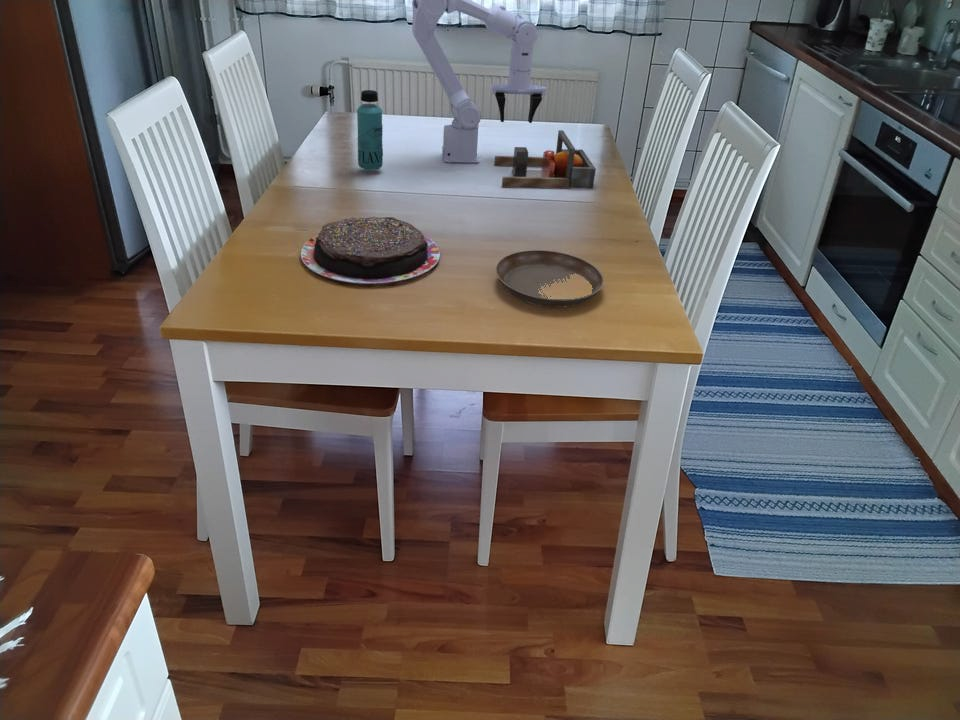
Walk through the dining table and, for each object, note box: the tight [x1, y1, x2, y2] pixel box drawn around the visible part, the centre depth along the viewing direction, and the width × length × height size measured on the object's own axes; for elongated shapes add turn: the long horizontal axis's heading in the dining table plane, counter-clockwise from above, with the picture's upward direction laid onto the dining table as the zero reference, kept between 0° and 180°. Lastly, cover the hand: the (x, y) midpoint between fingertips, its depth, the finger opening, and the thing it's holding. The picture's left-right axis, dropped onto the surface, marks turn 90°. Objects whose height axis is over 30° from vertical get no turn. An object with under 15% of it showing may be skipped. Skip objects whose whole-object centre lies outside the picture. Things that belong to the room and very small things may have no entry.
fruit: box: [553, 151, 583, 178], centre depth 196 cm, size 8×8×8 cm
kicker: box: [511, 146, 556, 178], centre depth 195 cm, size 10×10×7 cm
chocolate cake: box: [300, 216, 441, 288], centre depth 150 cm, size 28×28×7 cm
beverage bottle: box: [356, 89, 384, 171], centre depth 187 cm, size 6×7×20 cm
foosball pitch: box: [493, 129, 597, 189], centre depth 195 cm, size 24×17×10 cm
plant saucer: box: [495, 249, 604, 308], centre depth 144 cm, size 21×21×3 cm
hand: (516, 121), depth 204 cm, fingers open, 7 cm apart
